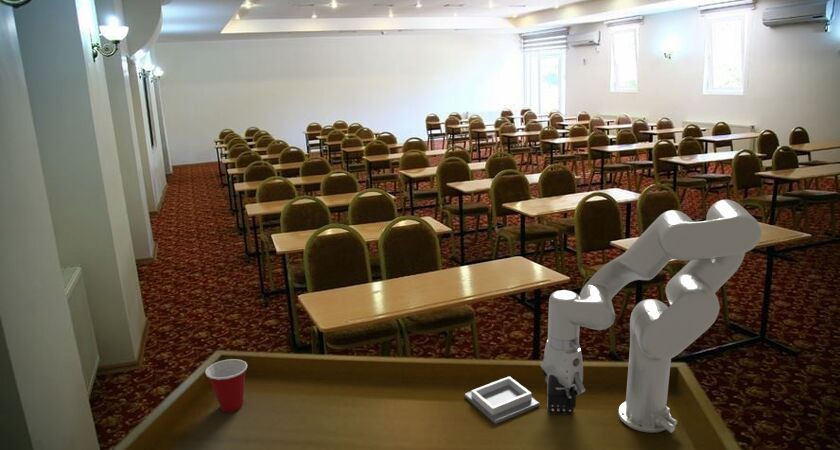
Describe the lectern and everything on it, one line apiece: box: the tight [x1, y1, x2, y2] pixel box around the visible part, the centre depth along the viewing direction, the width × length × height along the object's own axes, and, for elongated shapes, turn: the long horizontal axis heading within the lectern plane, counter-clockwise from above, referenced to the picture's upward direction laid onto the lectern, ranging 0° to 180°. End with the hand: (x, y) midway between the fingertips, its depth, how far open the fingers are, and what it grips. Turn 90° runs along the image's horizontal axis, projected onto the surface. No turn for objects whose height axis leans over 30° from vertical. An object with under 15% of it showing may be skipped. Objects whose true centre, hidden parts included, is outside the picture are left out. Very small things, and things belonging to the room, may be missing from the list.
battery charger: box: [546, 374, 575, 415], centre depth 158 cm, size 7×4×11 cm, turn 85°
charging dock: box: [464, 375, 540, 425], centre depth 165 cm, size 14×14×3 cm
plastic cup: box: [204, 358, 248, 413], centre depth 167 cm, size 11×11×12 cm
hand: (560, 401), depth 159 cm, fingers closed on battery charger, 6 cm apart
